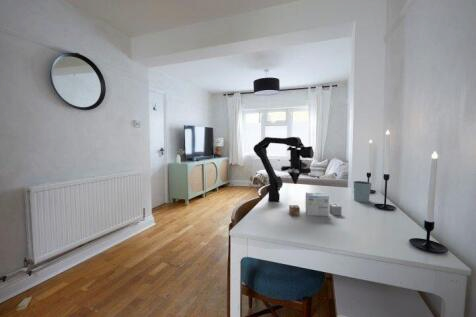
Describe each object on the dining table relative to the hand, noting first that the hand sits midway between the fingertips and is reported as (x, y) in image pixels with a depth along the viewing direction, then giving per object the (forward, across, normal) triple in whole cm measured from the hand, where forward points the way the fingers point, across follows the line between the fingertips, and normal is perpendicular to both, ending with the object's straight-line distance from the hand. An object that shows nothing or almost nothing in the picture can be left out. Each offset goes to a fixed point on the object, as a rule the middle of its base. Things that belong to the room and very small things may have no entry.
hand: (295, 183), depth 130 cm
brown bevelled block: (+13, -12, +14) cm, 23 cm away
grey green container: (+14, -17, -43) cm, 48 cm away
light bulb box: (+13, -18, +4) cm, 23 cm away
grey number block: (+13, -23, -5) cm, 27 cm away
